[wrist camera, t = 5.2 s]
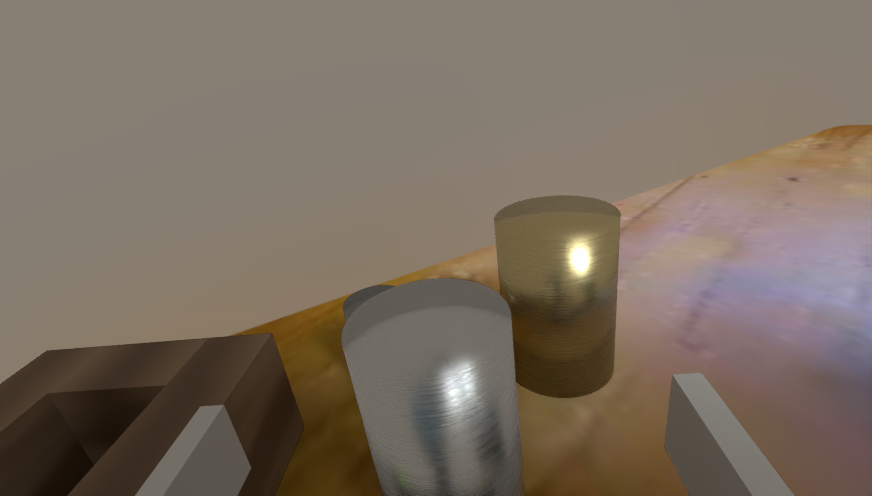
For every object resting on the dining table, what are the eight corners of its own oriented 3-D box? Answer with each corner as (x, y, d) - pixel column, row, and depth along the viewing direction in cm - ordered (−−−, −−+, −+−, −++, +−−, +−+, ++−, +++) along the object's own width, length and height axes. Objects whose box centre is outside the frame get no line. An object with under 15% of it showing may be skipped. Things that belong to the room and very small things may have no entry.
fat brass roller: (596, 326, 27) (599, 190, 24) (629, 394, 22) (640, 231, 18) (502, 333, 28) (490, 202, 24) (511, 401, 23) (498, 245, 19)
